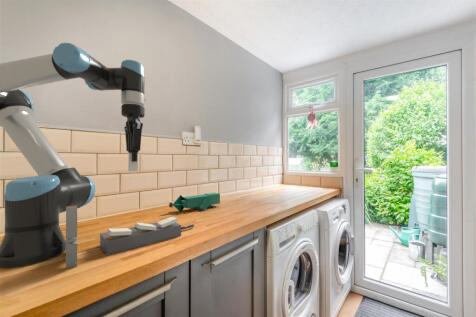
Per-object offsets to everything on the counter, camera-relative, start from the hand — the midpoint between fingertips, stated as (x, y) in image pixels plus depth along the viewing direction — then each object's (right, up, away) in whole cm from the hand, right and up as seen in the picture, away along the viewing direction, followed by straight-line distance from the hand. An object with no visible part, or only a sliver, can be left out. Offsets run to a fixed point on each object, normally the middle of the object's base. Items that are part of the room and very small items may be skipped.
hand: (133, 170), depth 77 cm
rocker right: (+12, -19, +2) cm, 23 cm away
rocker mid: (+6, -19, -4) cm, 21 cm away
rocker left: (0, -19, -9) cm, 21 cm away
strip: (+7, -24, +1) cm, 26 cm away
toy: (+13, -25, +46) cm, 54 cm away
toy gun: (-10, -25, -16) cm, 31 cm away
